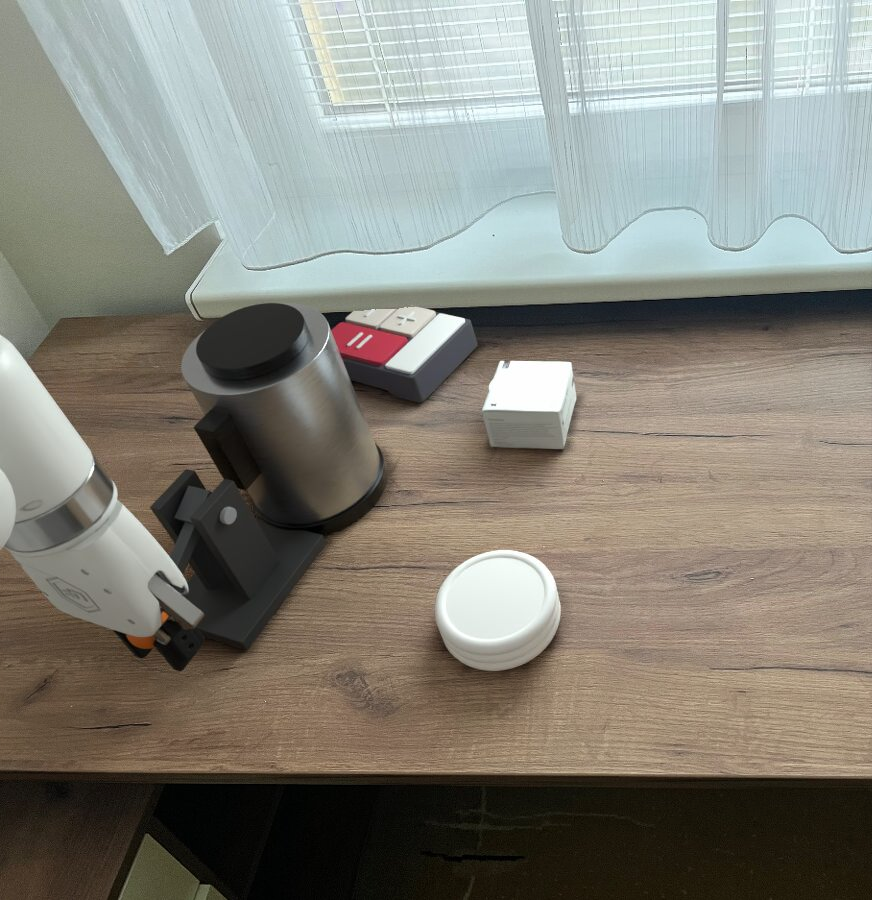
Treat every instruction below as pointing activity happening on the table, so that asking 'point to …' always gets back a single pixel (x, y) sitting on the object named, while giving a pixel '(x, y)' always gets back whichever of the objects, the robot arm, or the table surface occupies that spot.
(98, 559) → the robot arm
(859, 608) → the table surface
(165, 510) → the switch base
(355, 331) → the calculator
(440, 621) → the white jar lid
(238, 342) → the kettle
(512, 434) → the small box
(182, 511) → the switch lever
